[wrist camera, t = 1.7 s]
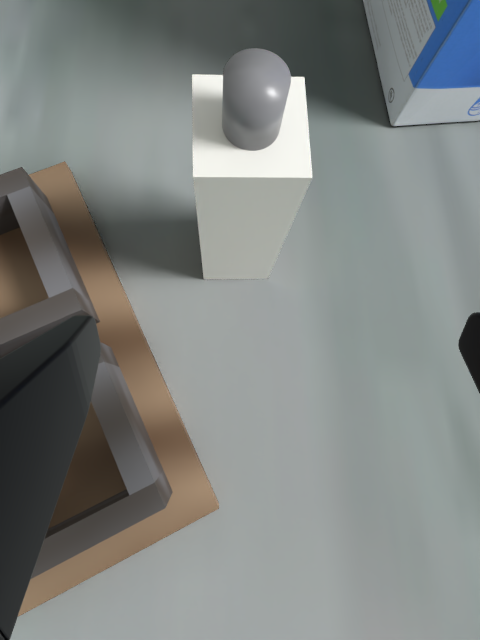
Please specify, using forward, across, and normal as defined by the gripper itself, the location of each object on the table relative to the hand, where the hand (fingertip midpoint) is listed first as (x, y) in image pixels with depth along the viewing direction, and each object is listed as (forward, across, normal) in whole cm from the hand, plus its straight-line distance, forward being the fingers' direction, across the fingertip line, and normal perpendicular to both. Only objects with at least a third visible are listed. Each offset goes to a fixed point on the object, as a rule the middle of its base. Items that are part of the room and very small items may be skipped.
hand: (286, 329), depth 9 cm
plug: (+15, 0, +4) cm, 16 cm away
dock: (+10, +12, +9) cm, 18 cm away
